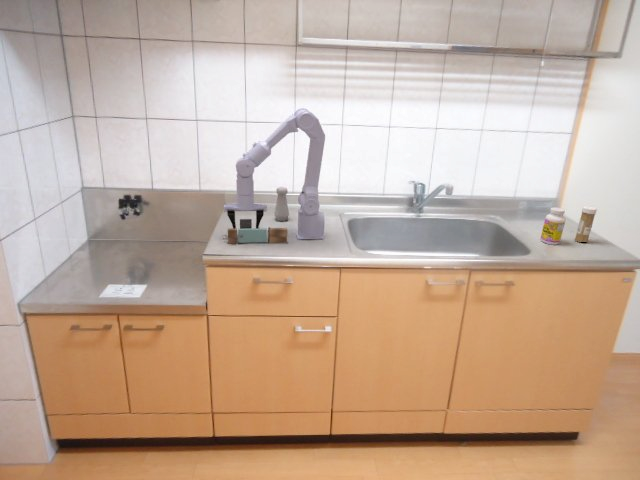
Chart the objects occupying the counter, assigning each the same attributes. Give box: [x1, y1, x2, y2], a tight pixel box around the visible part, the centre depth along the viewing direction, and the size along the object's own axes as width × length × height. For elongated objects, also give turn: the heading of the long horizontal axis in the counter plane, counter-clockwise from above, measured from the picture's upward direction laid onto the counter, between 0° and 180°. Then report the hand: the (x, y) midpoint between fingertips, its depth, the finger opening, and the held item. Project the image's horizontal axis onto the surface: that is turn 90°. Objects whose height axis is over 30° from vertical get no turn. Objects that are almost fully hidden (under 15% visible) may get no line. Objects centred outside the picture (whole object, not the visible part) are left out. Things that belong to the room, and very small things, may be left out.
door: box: [237, 227, 268, 244], centre depth 154 cm, size 10×2×5 cm, turn 99°
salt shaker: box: [273, 186, 290, 222], centre depth 176 cm, size 6×6×13 cm
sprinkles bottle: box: [574, 205, 598, 243], centre depth 168 cm, size 5×5×13 cm
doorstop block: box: [239, 218, 253, 229], centre depth 159 cm, size 4×4×6 cm
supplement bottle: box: [540, 207, 566, 246], centre depth 166 cm, size 7×7×13 cm
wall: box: [227, 226, 288, 245], centre depth 154 cm, size 20×2×5 cm, turn 99°
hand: (245, 230), depth 159 cm, fingers open, 7 cm apart
